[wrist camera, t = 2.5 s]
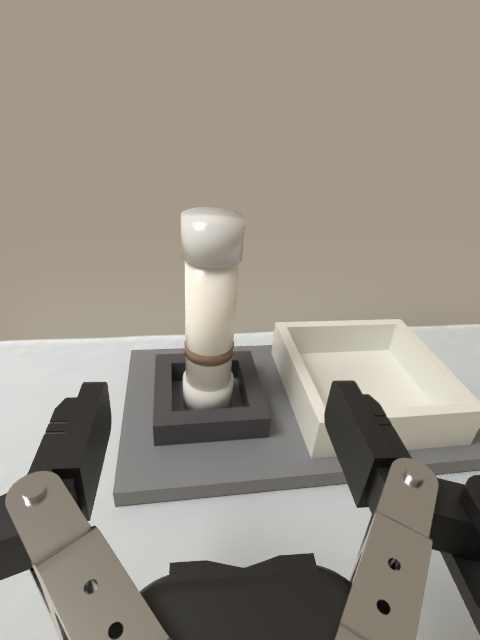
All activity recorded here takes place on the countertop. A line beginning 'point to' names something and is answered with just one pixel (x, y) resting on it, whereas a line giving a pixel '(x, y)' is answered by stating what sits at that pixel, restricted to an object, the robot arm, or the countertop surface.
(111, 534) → the countertop surface
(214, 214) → the white capped peg
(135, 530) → the countertop surface
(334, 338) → the grey board with tray
